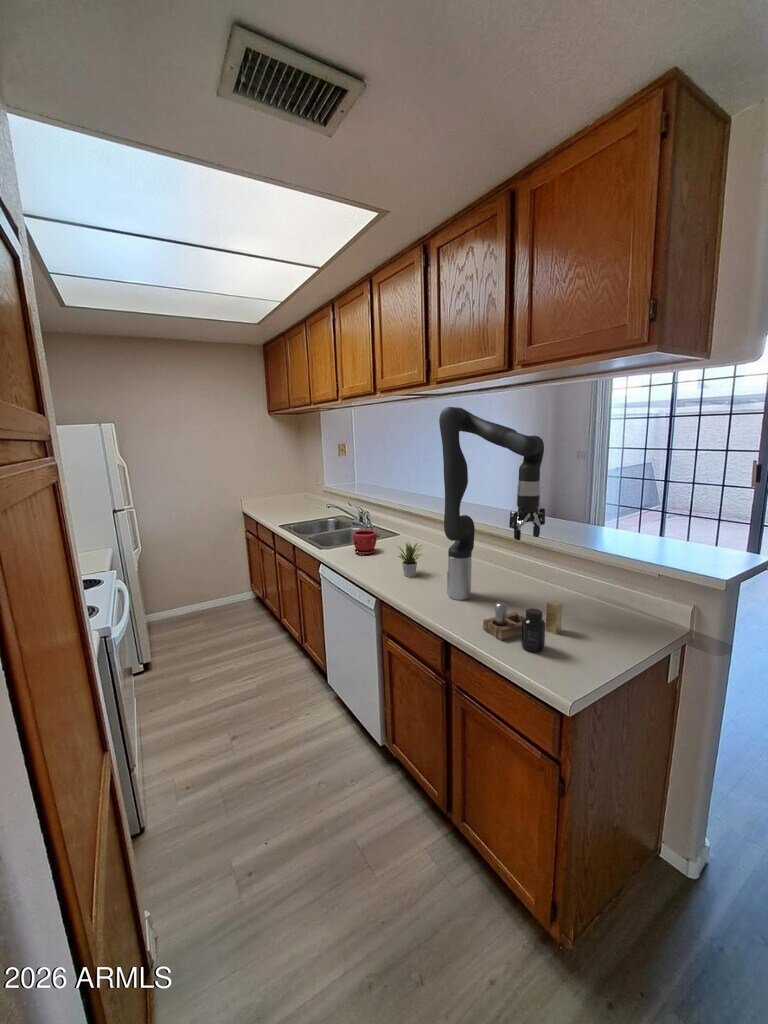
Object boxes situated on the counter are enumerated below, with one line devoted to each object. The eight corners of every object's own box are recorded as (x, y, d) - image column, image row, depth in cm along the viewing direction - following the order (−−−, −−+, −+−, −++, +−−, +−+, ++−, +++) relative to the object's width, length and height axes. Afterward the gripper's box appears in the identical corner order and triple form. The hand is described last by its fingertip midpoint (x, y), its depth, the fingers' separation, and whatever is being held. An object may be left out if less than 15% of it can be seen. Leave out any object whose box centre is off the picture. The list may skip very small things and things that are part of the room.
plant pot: (377, 556, 233) (376, 534, 231) (353, 556, 233) (352, 535, 230) (377, 549, 246) (376, 529, 243) (354, 550, 246) (353, 529, 243)
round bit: (492, 631, 143) (493, 603, 141) (501, 628, 145) (501, 601, 143) (499, 635, 140) (500, 607, 138) (508, 633, 141) (509, 604, 140)
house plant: (433, 576, 199) (433, 542, 196) (411, 583, 190) (410, 547, 187) (413, 568, 210) (413, 536, 207) (391, 575, 202) (390, 541, 199)
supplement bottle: (549, 648, 131) (551, 612, 129) (535, 655, 128) (537, 618, 125) (530, 640, 137) (531, 605, 135) (516, 646, 133) (517, 610, 131)
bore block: (482, 629, 145) (482, 620, 144) (515, 621, 151) (515, 611, 150) (500, 641, 137) (500, 631, 136) (534, 631, 143) (534, 621, 142)
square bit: (545, 630, 143) (546, 602, 141) (551, 627, 145) (552, 599, 143) (555, 634, 140) (557, 605, 138) (561, 631, 143) (562, 602, 141)
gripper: (536, 490, 156) (534, 533, 159) (505, 493, 150) (503, 538, 153) (552, 493, 149) (549, 538, 152) (520, 496, 143) (518, 543, 146)
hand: (526, 538), depth 153 cm, fingers open, 8 cm apart
